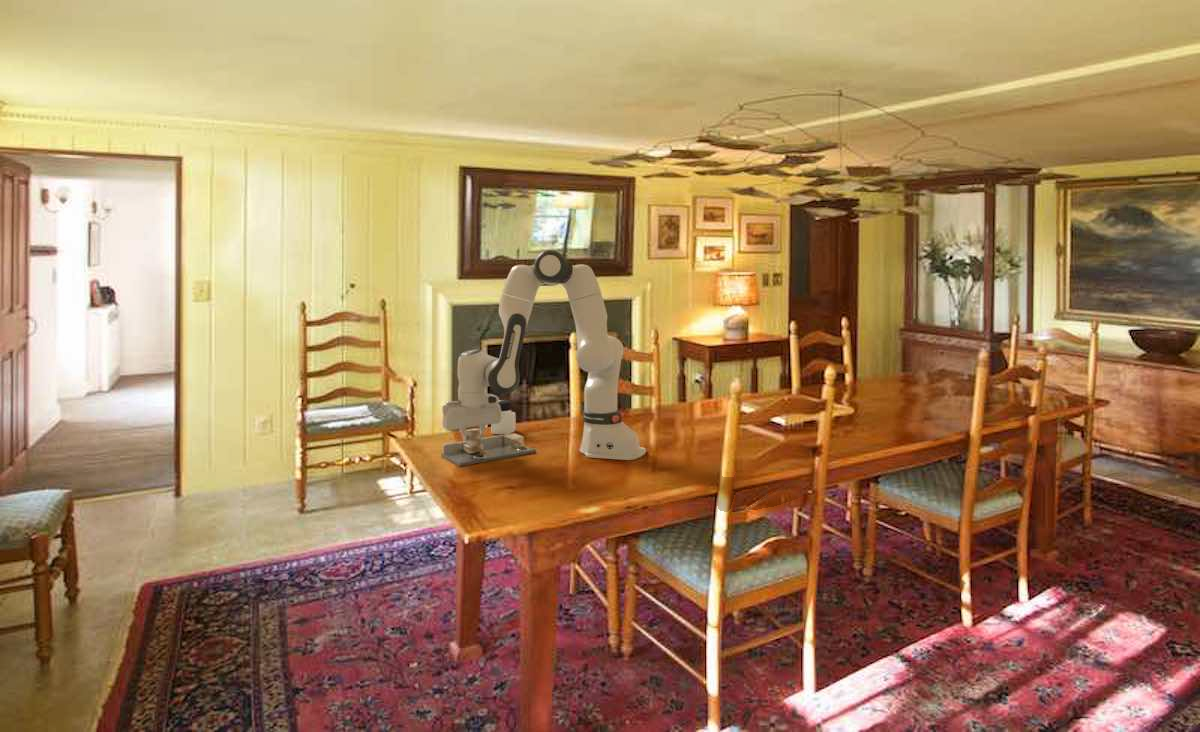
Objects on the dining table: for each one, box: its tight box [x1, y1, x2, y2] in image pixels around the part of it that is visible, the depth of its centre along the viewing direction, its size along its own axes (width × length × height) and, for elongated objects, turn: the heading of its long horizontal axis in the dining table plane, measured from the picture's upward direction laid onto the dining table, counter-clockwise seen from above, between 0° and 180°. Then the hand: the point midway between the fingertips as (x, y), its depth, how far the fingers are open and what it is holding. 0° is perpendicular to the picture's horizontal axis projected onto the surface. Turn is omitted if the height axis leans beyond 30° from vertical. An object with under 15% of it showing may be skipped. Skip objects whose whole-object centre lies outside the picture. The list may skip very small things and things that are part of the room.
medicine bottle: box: [490, 399, 517, 435], centre depth 279 cm, size 7×7×12 cm
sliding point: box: [463, 428, 484, 455], centre depth 247 cm, size 5×10×7 cm, turn 35°
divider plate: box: [440, 432, 537, 467], centre depth 249 cm, size 28×14×4 cm, turn 125°
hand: (472, 439), depth 249 cm, fingers closed on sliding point, 3 cm apart
